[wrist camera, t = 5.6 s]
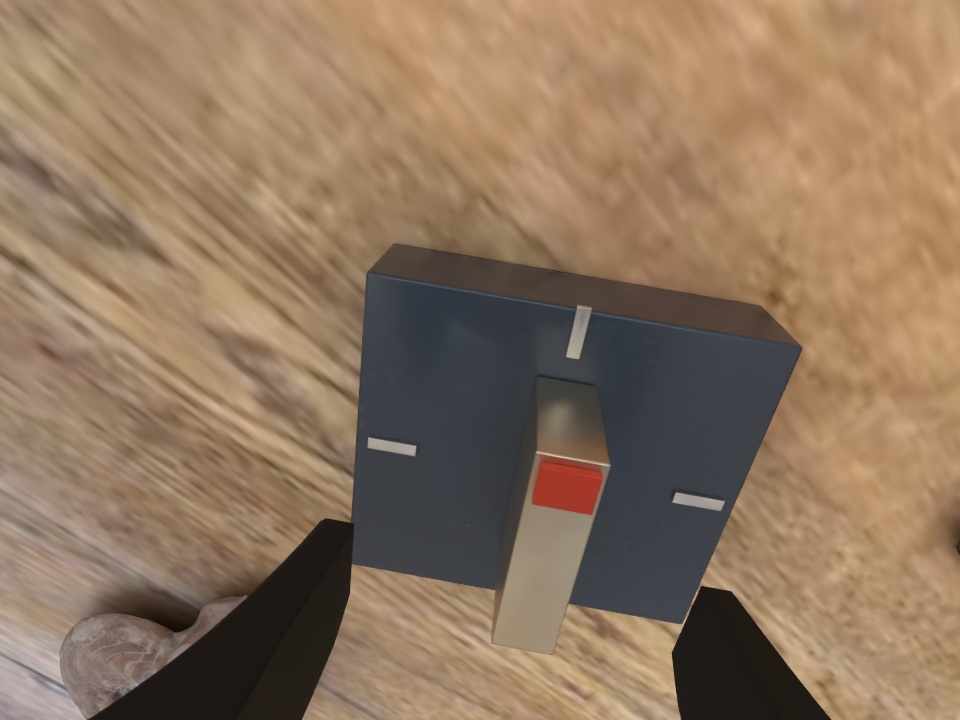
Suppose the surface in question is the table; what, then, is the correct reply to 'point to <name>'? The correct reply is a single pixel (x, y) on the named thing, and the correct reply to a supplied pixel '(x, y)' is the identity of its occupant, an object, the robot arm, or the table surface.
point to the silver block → (549, 514)
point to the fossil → (125, 652)
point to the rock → (958, 546)
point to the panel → (505, 407)
